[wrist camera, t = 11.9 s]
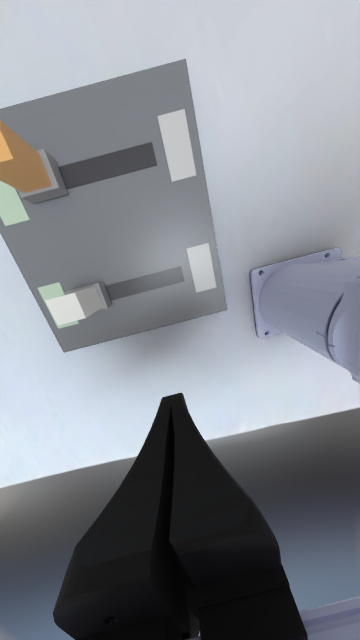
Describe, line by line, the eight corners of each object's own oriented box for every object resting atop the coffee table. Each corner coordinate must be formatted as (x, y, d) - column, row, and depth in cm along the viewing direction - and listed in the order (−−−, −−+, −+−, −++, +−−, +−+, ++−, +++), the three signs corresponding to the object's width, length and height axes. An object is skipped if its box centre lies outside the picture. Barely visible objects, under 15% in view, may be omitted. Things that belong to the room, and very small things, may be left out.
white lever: (103, 281, 15) (79, 288, 11) (112, 304, 16) (92, 319, 12) (72, 289, 15) (37, 299, 11) (83, 312, 16) (53, 329, 12)
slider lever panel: (183, 87, 13) (185, 57, 11) (221, 305, 19) (227, 310, 17) (-26, 144, 13) (-60, 123, 12) (74, 343, 19) (63, 353, 17)
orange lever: (54, 159, 12) (-2, 105, 8) (68, 194, 13) (22, 161, 9) (17, 169, 12) (-58, 121, 8) (33, 203, 13) (-29, 175, 9)
